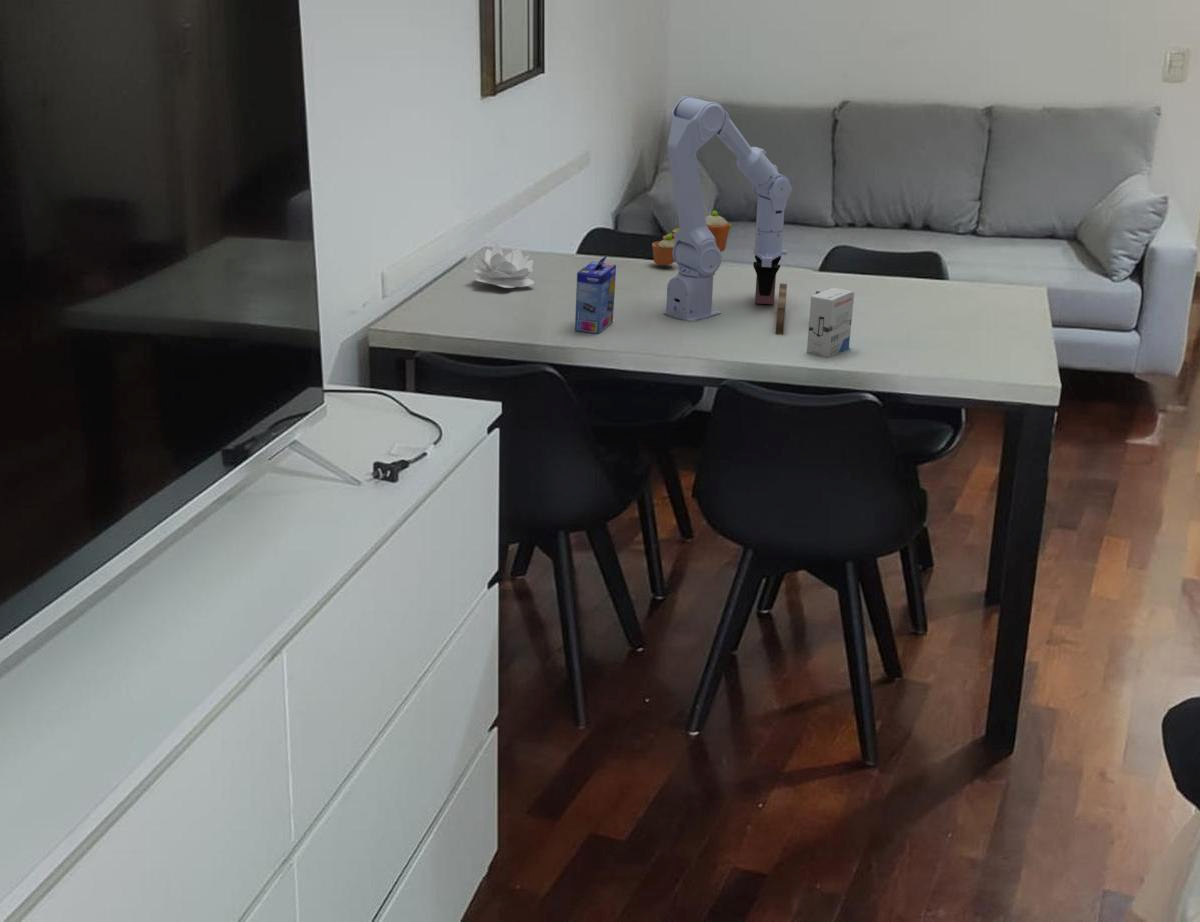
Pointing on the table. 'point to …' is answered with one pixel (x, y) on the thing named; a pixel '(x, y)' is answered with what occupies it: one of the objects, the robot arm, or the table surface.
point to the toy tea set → (665, 247)
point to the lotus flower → (505, 268)
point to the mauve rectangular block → (765, 298)
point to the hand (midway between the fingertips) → (765, 291)
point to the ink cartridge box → (595, 297)
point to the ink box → (830, 322)
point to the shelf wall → (781, 308)
